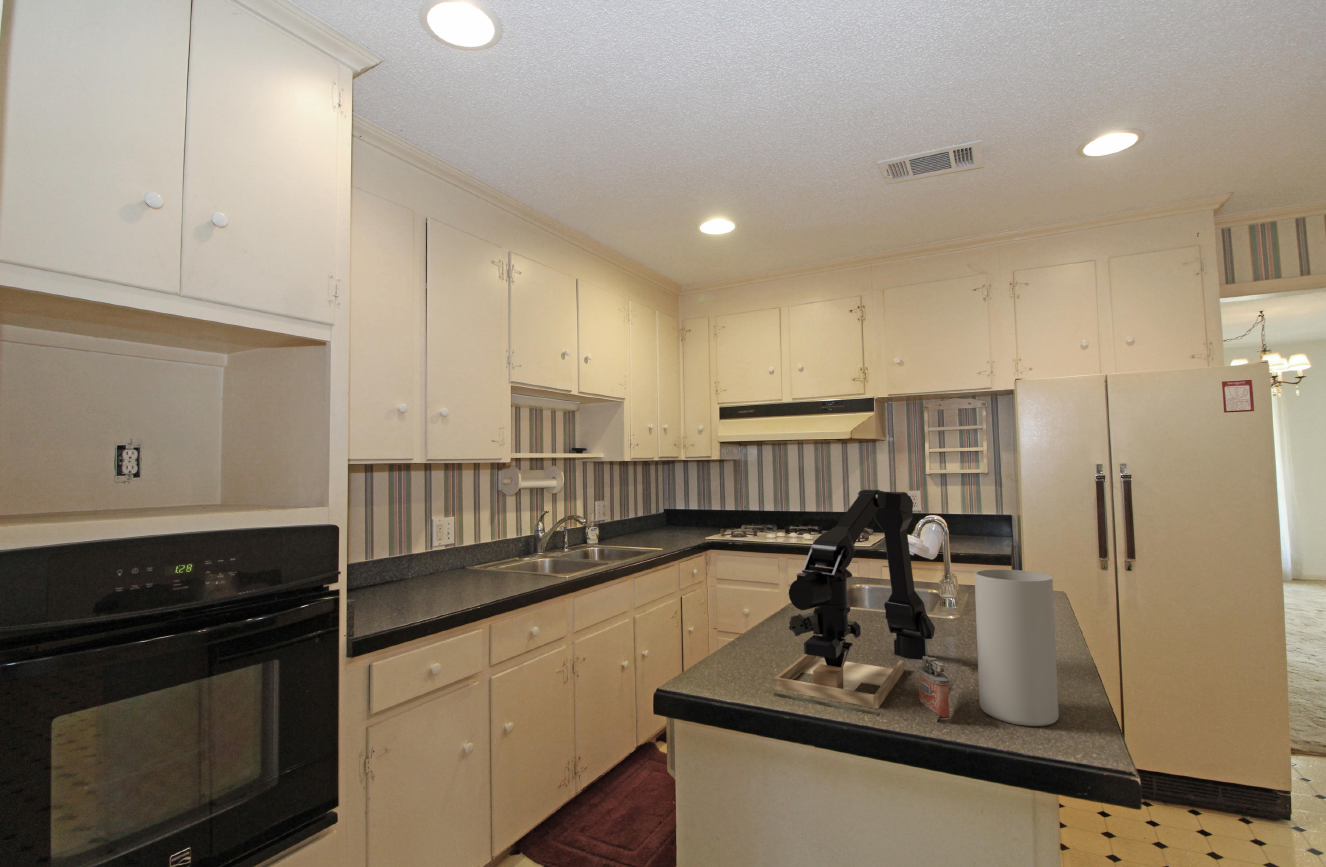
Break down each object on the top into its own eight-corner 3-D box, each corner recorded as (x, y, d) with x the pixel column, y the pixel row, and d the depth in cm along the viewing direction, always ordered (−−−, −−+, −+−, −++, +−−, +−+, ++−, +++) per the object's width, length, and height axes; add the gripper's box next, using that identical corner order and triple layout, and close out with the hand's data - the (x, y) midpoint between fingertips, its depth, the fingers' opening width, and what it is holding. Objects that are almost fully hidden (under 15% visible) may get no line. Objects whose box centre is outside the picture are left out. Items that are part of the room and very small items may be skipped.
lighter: (914, 706, 117) (912, 652, 117) (931, 705, 117) (929, 651, 118) (936, 724, 109) (934, 666, 109) (955, 723, 109) (953, 665, 110)
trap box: (904, 677, 133) (904, 660, 133) (878, 716, 112) (877, 696, 113) (813, 663, 143) (812, 647, 144) (774, 696, 123) (773, 678, 123)
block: (843, 691, 121) (842, 667, 121) (836, 698, 117) (836, 674, 118) (820, 687, 123) (820, 664, 124) (813, 694, 120) (813, 670, 120)
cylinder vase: (1002, 728, 107) (996, 581, 108) (967, 701, 119) (962, 569, 121) (1075, 727, 107) (1068, 580, 108) (1031, 700, 119) (1026, 568, 121)
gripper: (808, 589, 137) (810, 661, 136) (777, 607, 121) (779, 688, 120) (860, 594, 131) (862, 669, 130) (834, 613, 115) (836, 699, 115)
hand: (834, 680), depth 124 cm, fingers closed
